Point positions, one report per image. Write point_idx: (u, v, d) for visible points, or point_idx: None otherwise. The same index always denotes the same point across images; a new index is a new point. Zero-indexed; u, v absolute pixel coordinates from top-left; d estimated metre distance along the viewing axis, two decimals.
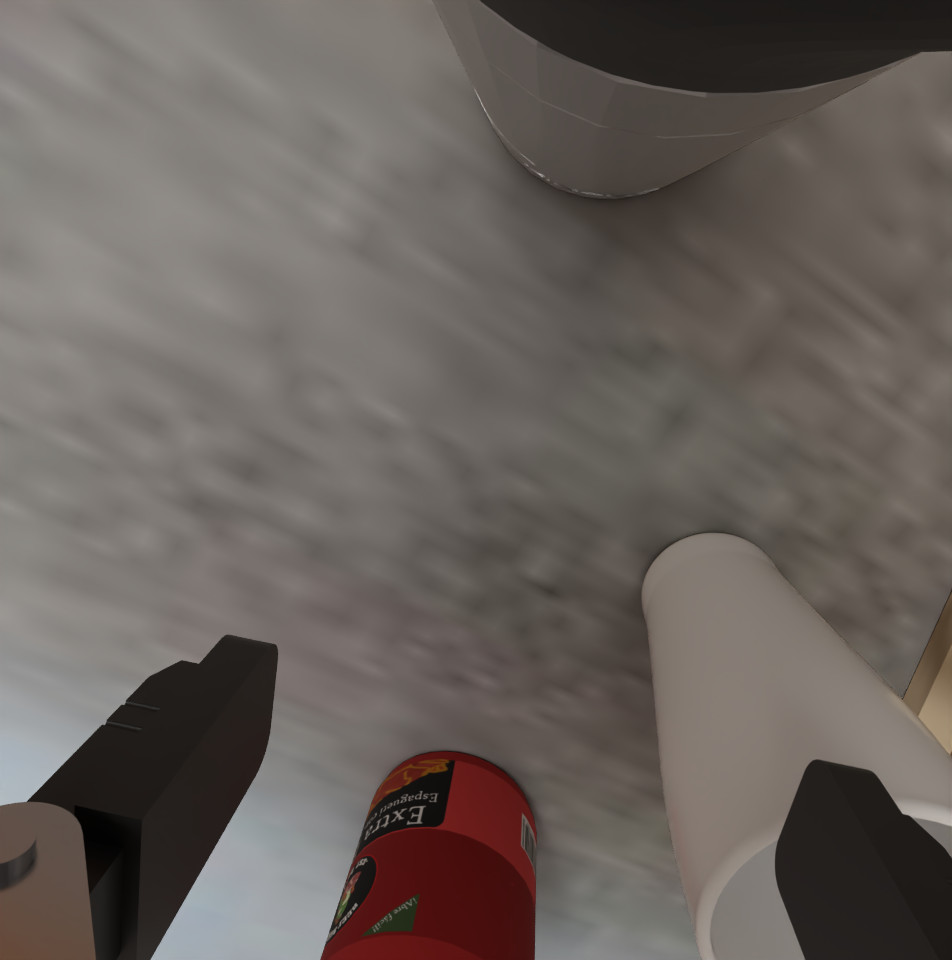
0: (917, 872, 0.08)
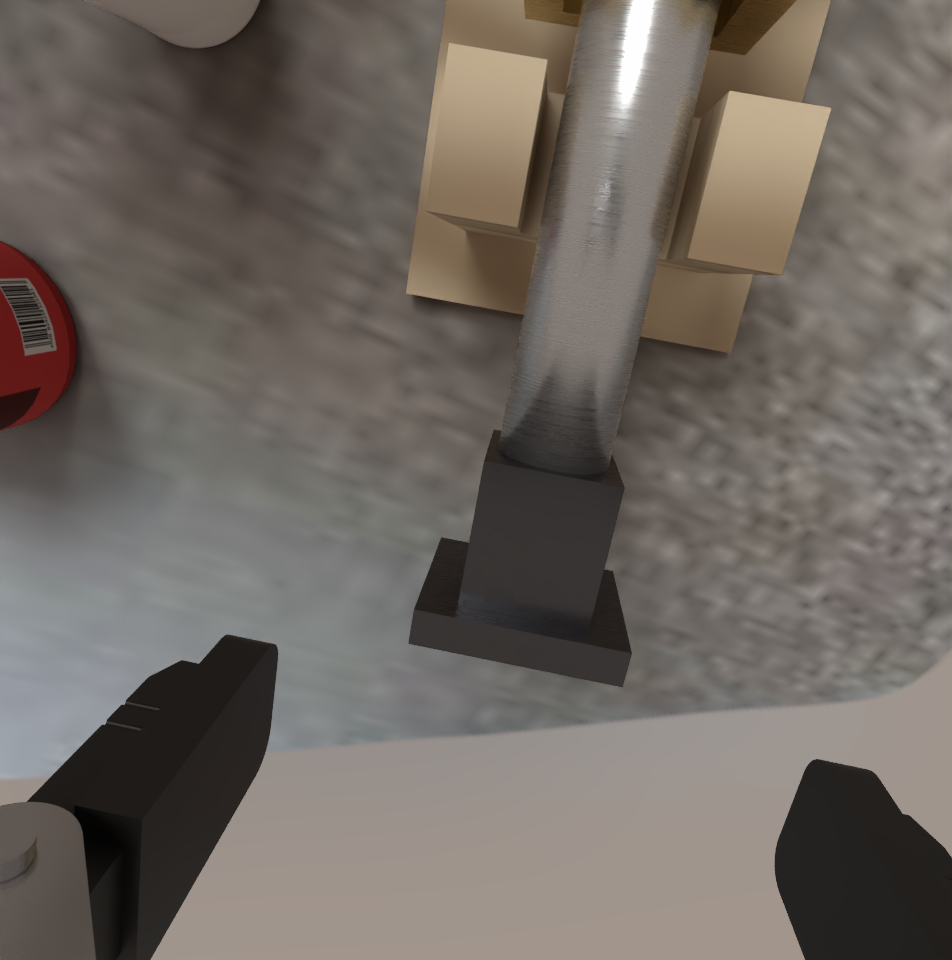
0: (917, 872, 0.08)
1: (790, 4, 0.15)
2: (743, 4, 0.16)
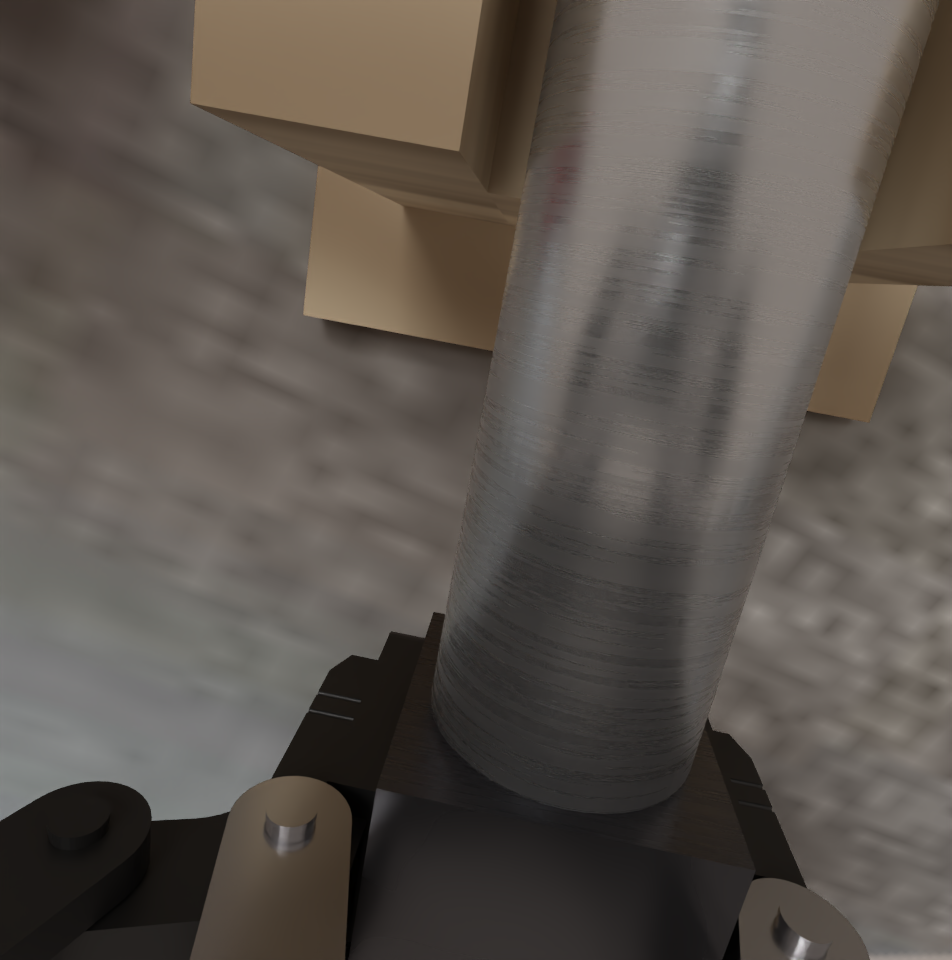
0: None
1: None
2: None
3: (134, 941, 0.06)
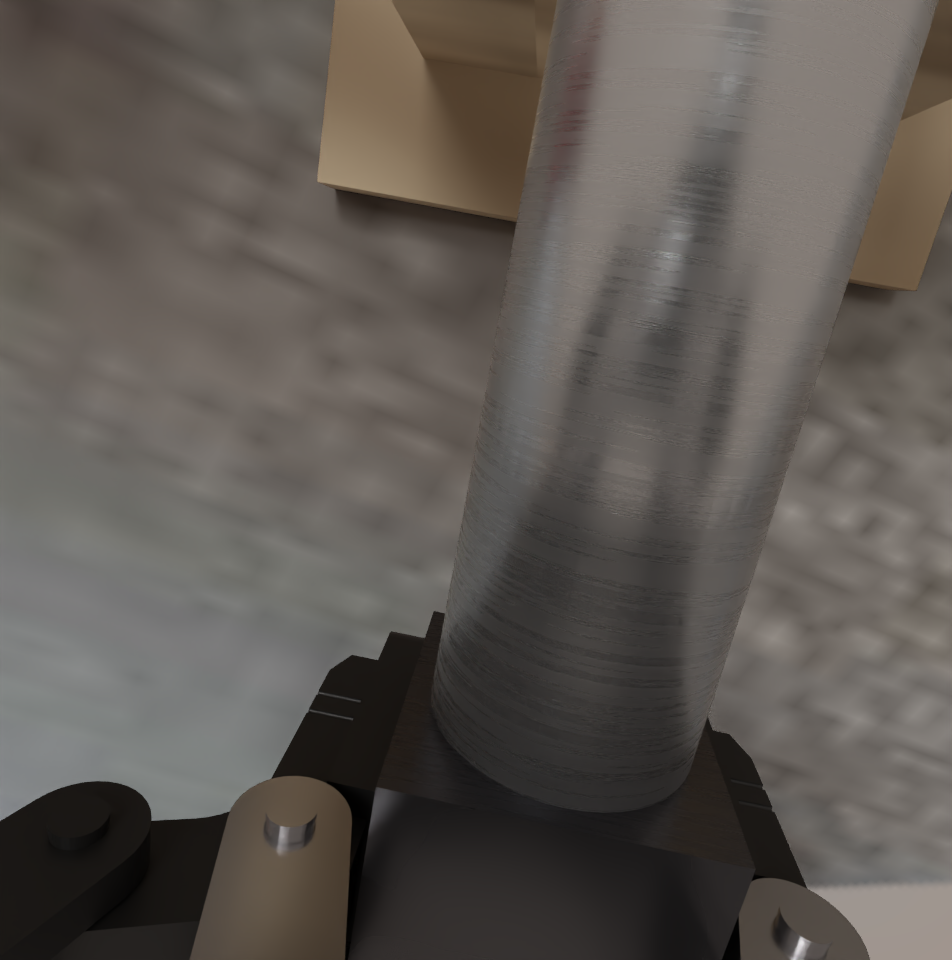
0: None
1: None
2: None
3: (134, 942, 0.06)
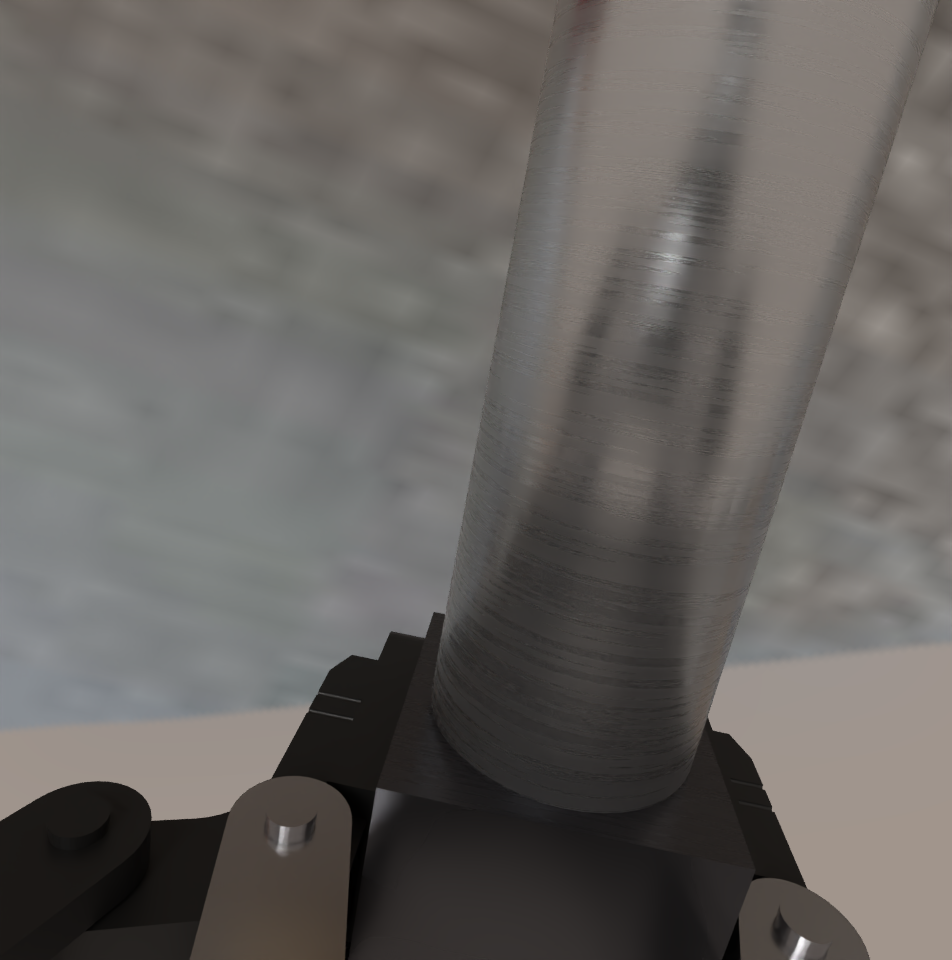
0: None
1: None
2: None
3: (134, 941, 0.06)
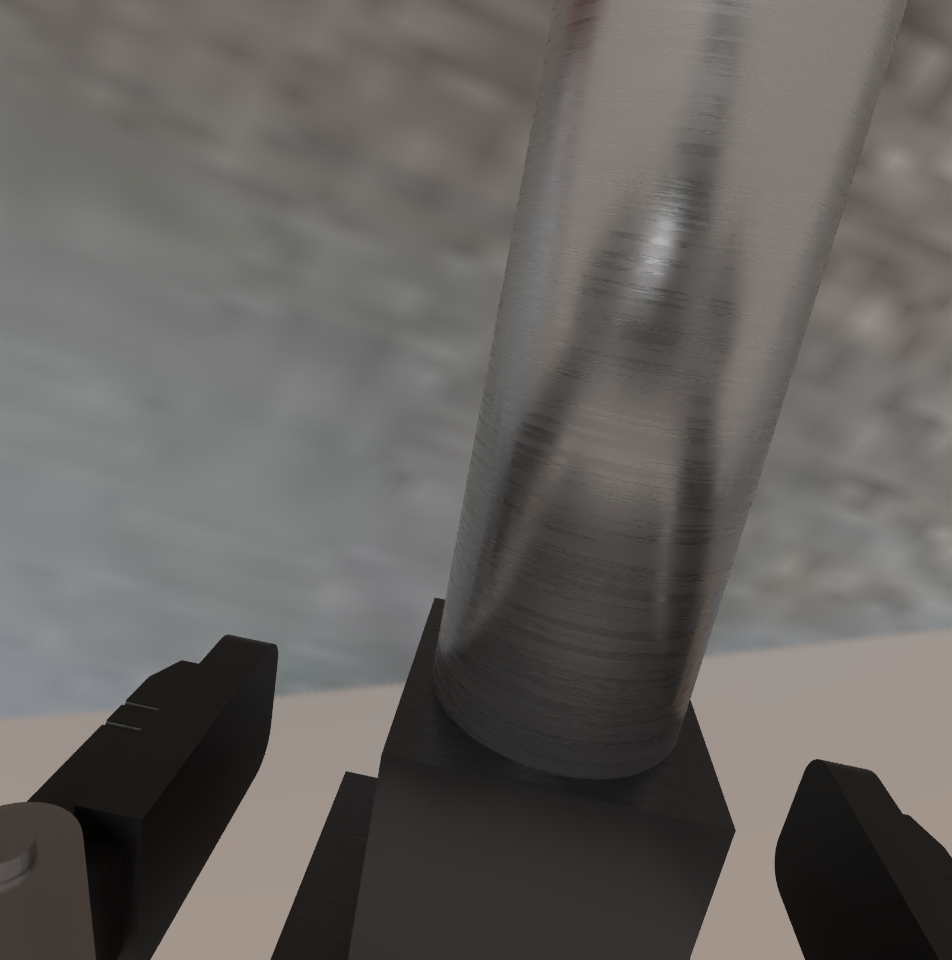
0: (918, 872, 0.08)
1: None
2: None
3: None
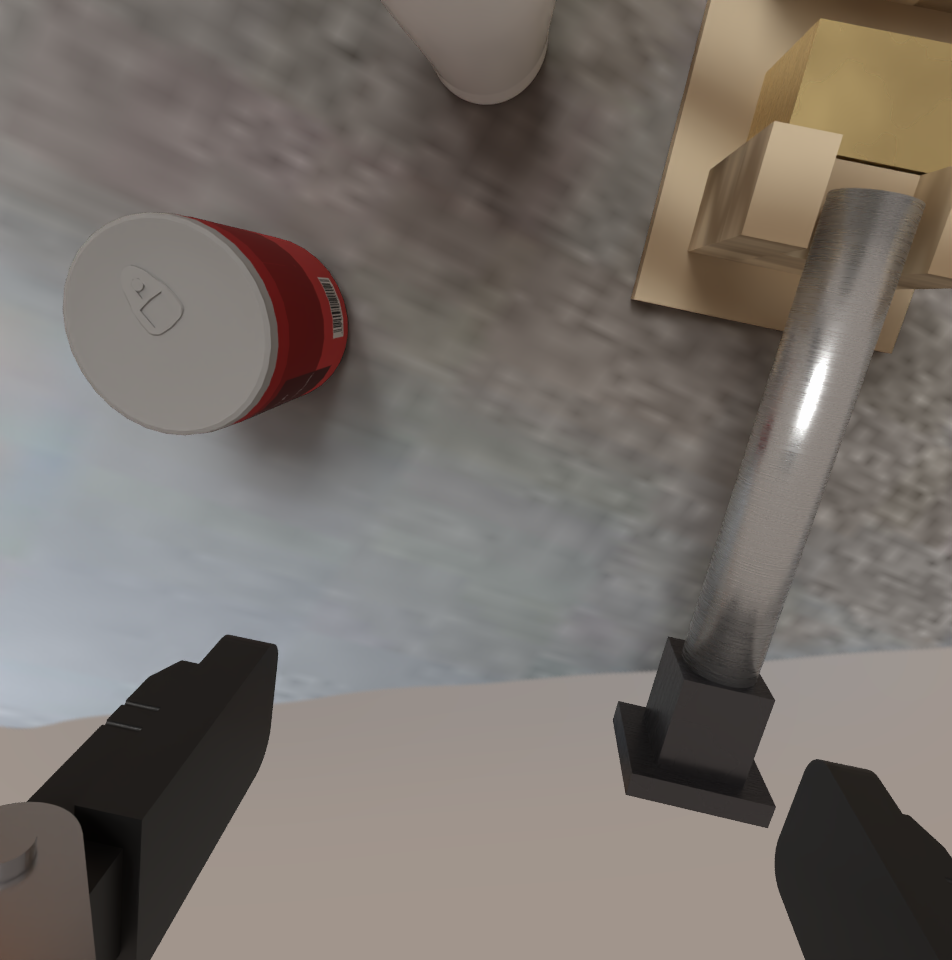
0: (917, 872, 0.08)
1: None
2: None
3: None
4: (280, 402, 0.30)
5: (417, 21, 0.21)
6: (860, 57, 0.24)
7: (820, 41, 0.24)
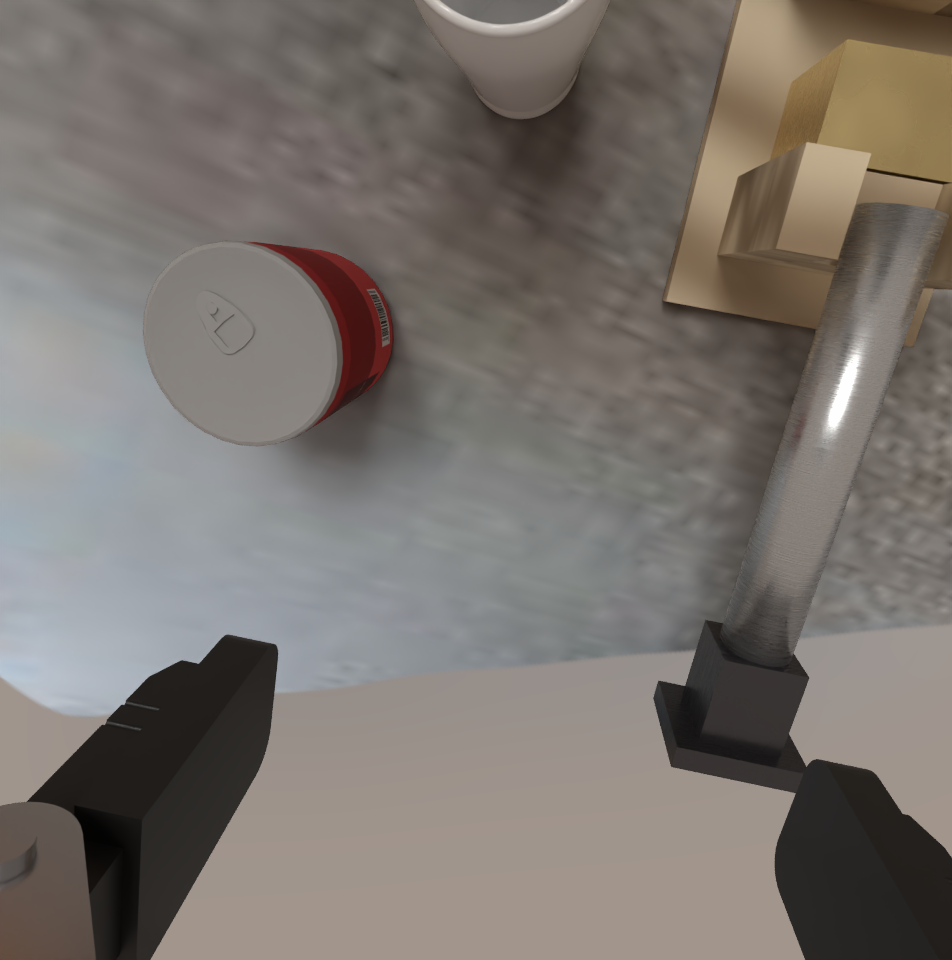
0: (917, 872, 0.08)
1: None
2: None
3: None
4: None
5: (475, 62, 0.22)
6: (885, 75, 0.25)
7: (847, 61, 0.25)
